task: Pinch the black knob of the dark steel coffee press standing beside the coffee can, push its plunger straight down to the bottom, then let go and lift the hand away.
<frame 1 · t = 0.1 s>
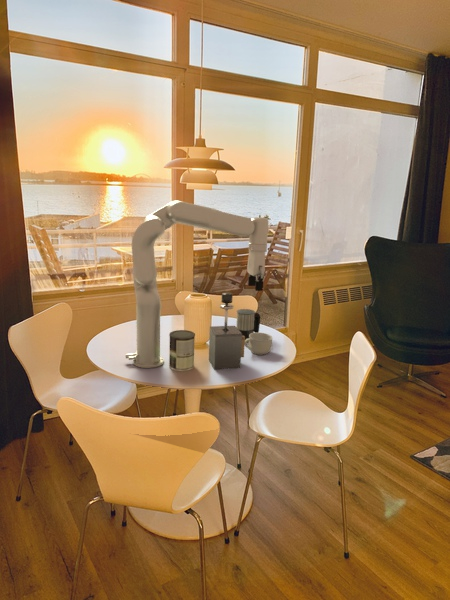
hand: (255, 288, 183), 31 cm above the table, tool pointing down, fingers open, 9 cm apart
coffee can: (181, 366, 177), on the table
milk frother: (241, 338, 217), on the table
press pot: (224, 364, 182), on the table
teacup: (256, 353, 197), on the table
plunger: (226, 315, 177), point 21 cm above the table, slide at 9.0 cm
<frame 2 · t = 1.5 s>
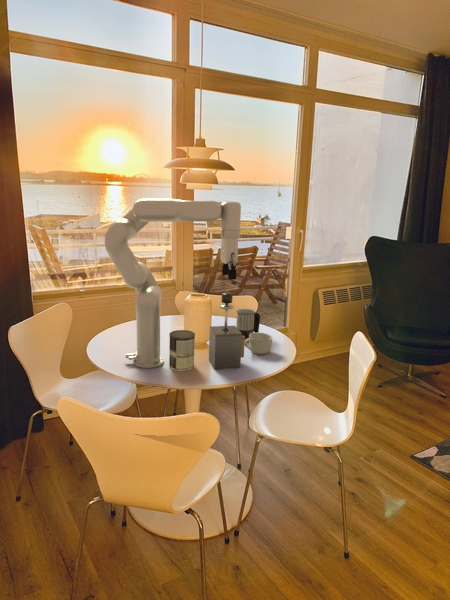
hand: (228, 277, 173), 37 cm above the table, tool pointing down, fingers open, 9 cm apart
nothing on the table moved.
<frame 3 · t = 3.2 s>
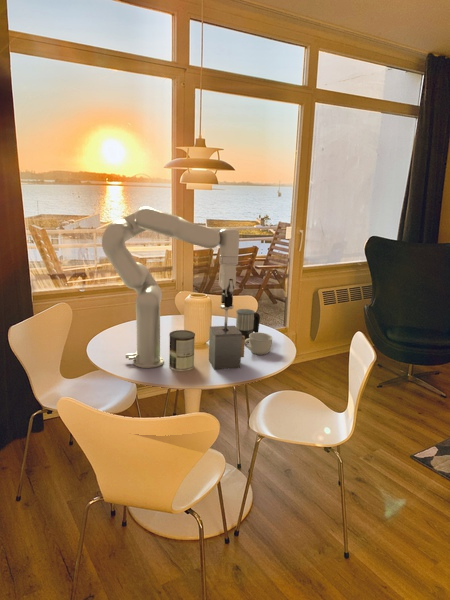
hand: (226, 304, 176), 26 cm above the table, tool pointing down, fingers closed on plunger, 4 cm apart
plunger: (226, 315, 177), point 21 cm above the table, slide at 9.0 cm, touching gripper
everything else where it was.
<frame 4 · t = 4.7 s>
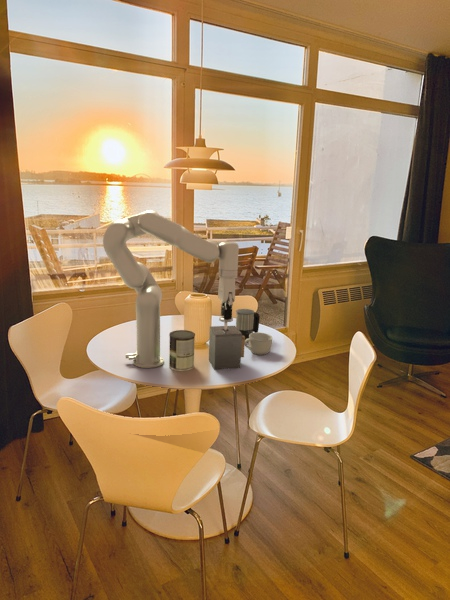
hand: (226, 316, 177), 21 cm above the table, tool pointing down, fingers closed on plunger, 4 cm apart
plunger: (225, 327, 178), point 16 cm above the table, slide at 3.7 cm, touching gripper
everything else where it was.
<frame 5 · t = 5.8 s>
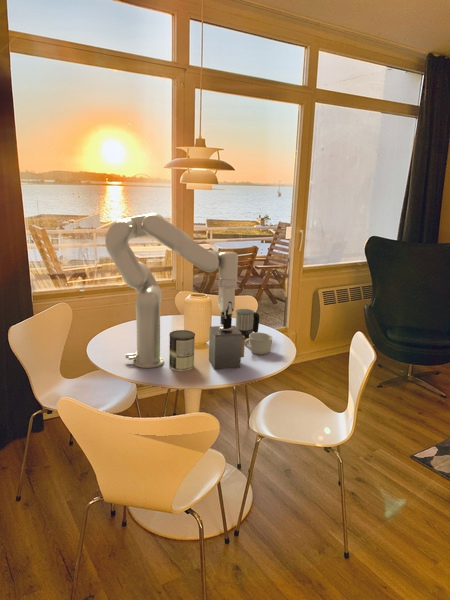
hand: (225, 325, 178), 17 cm above the table, tool pointing down, fingers closed on plunger, 4 cm apart
plunger: (225, 336, 179), point 12 cm above the table, slide at -0.1 cm, touching gripper
everything else where it was.
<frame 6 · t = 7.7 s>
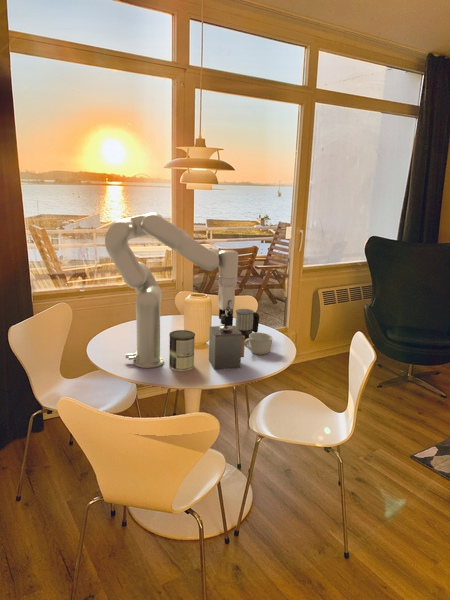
hand: (225, 322, 177), 18 cm above the table, tool pointing down, fingers open, 9 cm apart
plunger: (225, 336, 179), point 12 cm above the table, slide at 0.0 cm
everything else where it was.
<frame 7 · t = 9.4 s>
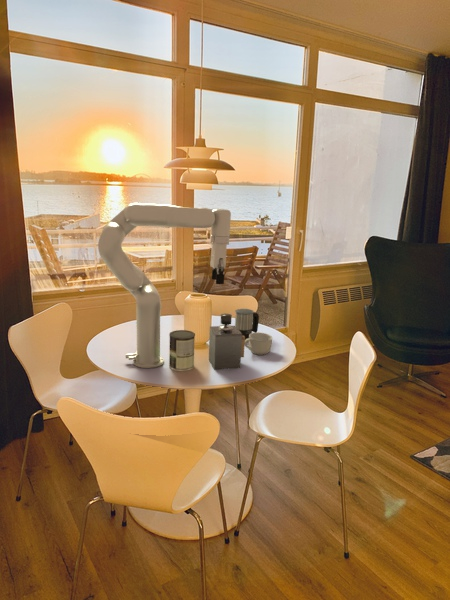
hand: (217, 281, 179), 34 cm above the table, tool pointing down, fingers open, 9 cm apart
nothing on the table moved.
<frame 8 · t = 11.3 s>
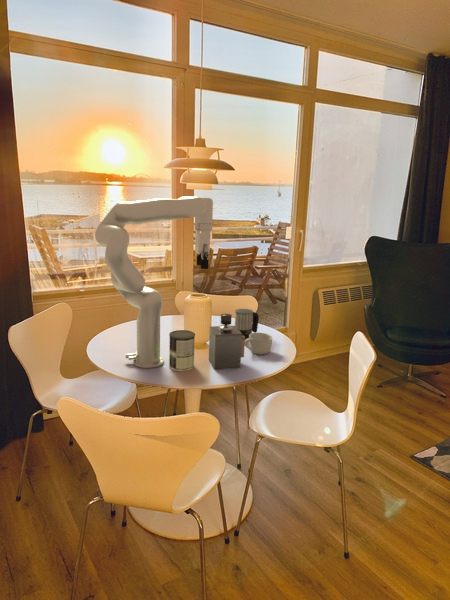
hand: (202, 266, 188), 38 cm above the table, tool pointing down, fingers open, 9 cm apart
at the end: plunger slide at 0.0 cm; the gripper is holding nothing; coffee can moved 0.2 cm from its start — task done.
